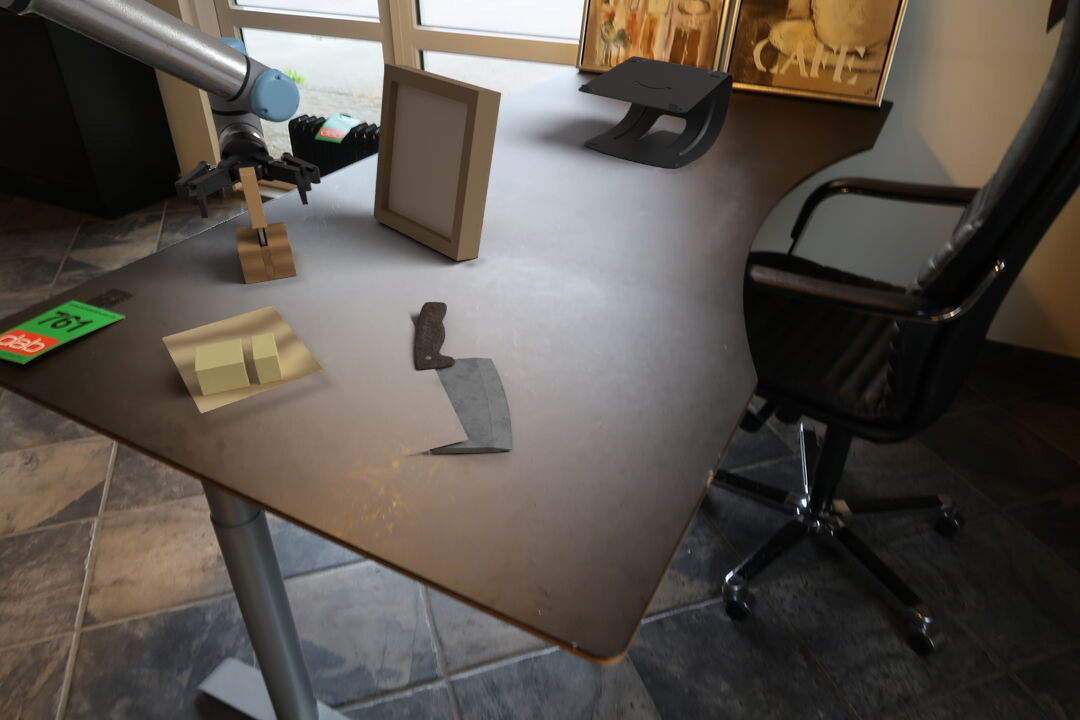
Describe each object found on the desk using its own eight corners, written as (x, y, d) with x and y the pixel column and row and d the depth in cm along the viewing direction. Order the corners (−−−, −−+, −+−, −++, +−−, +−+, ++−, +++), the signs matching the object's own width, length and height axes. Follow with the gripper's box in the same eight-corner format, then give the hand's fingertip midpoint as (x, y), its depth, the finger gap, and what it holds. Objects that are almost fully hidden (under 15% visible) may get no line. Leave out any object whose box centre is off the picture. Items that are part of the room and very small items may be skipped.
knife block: (242, 258, 109) (235, 228, 106) (290, 250, 111) (284, 221, 108) (246, 284, 102) (238, 253, 99) (296, 275, 104) (290, 245, 102)
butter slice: (256, 360, 84) (250, 336, 82) (278, 356, 85) (272, 332, 83) (260, 384, 80) (253, 359, 78) (282, 379, 81) (276, 355, 79)
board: (164, 347, 89) (161, 337, 88) (274, 314, 96) (272, 305, 95) (204, 423, 77) (200, 413, 76) (326, 379, 84) (324, 369, 83)
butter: (202, 371, 82) (194, 346, 80) (247, 362, 84) (240, 338, 82) (203, 396, 79) (194, 371, 77) (250, 386, 80) (243, 361, 78)
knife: (260, 259, 109) (238, 164, 100) (274, 257, 109) (253, 163, 101) (263, 276, 104) (240, 179, 95) (277, 274, 105) (256, 177, 96)
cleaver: (406, 315, 96) (405, 302, 94) (477, 307, 98) (477, 294, 96) (429, 465, 73) (427, 450, 71) (521, 451, 74) (521, 436, 73)
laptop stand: (727, 144, 157) (740, 71, 148) (675, 173, 142) (686, 94, 133) (630, 121, 169) (636, 53, 161) (572, 146, 154) (576, 71, 145)
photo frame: (457, 266, 108) (447, 98, 93) (373, 223, 120) (353, 69, 105) (525, 237, 117) (525, 79, 102) (441, 199, 129) (431, 54, 114)
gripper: (325, 167, 122) (347, 214, 106) (168, 185, 114) (165, 239, 98) (318, 123, 117) (339, 165, 101) (154, 139, 109) (149, 188, 93)
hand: (254, 202), depth 99 cm, fingers open, 13 cm apart
